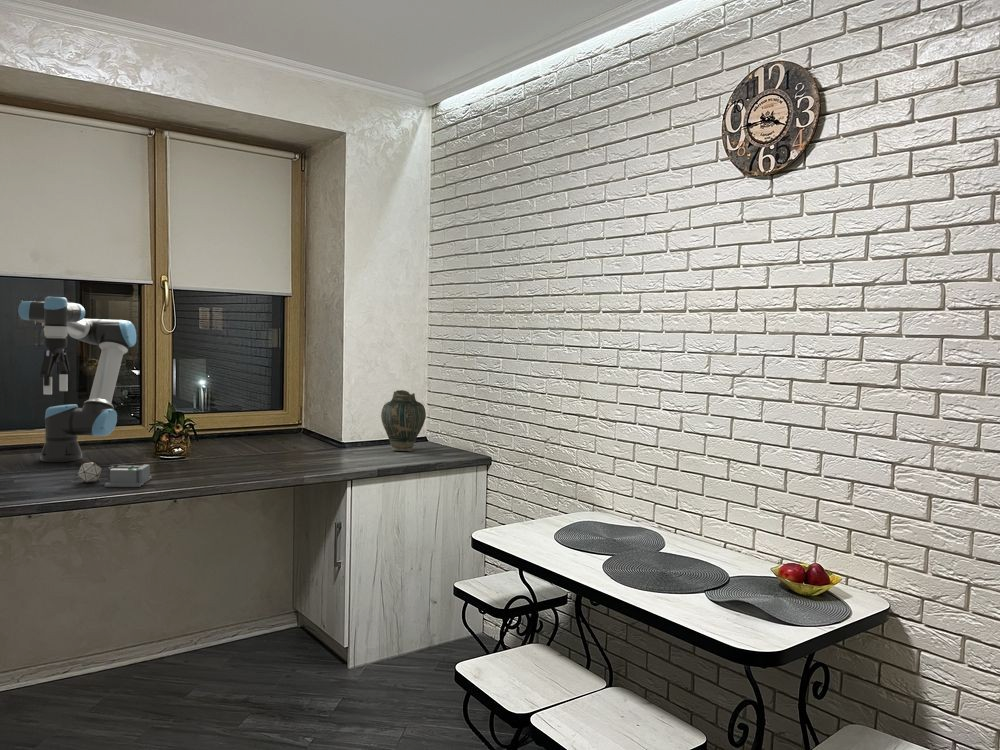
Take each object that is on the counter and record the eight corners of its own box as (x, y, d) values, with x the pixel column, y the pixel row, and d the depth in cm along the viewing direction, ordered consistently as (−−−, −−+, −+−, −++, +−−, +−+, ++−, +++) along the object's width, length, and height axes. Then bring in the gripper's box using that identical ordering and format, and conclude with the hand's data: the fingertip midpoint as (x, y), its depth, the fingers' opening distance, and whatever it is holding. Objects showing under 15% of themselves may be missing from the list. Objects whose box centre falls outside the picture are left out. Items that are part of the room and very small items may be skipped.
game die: (84, 493, 267) (65, 473, 263) (94, 480, 274) (76, 461, 270) (103, 483, 265) (84, 462, 261) (113, 470, 273) (95, 450, 269)
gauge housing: (118, 478, 276) (118, 462, 276) (151, 478, 278) (151, 463, 278) (104, 486, 262) (104, 470, 262) (139, 486, 264) (139, 470, 264)
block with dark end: (112, 477, 271) (112, 463, 271) (138, 477, 273) (138, 464, 273) (104, 481, 264) (105, 467, 264) (131, 481, 266) (131, 467, 266)
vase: (379, 446, 371) (381, 388, 369) (422, 446, 375) (424, 389, 373) (380, 454, 349) (382, 392, 347) (426, 454, 354) (428, 393, 352)
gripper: (59, 336, 287) (59, 389, 289) (29, 337, 263) (29, 395, 264) (79, 337, 288) (79, 389, 290) (51, 338, 264) (51, 396, 265)
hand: (55, 392), depth 277 cm, fingers open, 13 cm apart
